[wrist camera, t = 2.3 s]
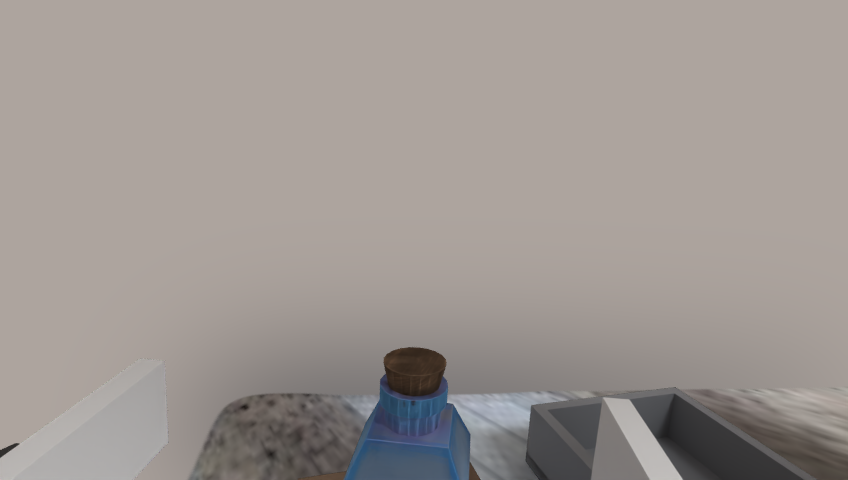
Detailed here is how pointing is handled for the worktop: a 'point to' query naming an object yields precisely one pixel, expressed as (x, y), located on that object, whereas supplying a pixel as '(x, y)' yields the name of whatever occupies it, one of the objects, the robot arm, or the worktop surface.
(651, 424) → the bin
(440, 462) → the perfume bottle
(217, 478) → the worktop surface
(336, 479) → the holder
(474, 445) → the worktop surface
